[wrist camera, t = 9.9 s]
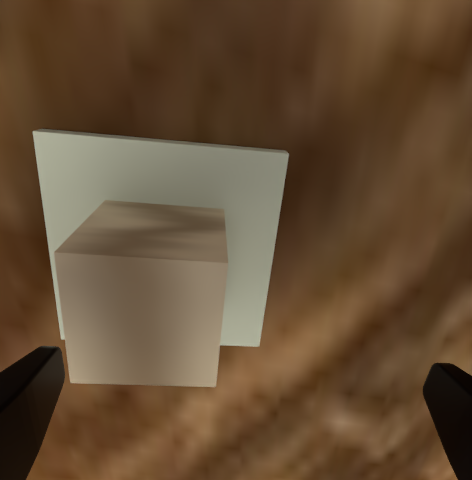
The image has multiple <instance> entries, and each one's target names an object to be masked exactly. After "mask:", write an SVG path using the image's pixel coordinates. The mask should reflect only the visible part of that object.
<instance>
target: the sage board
mask: <svg viewBox="0 0 472 480" xmlns="http://www.w3.org/2000/svg"><path fill="white" fill-rule="evenodd" d="M33 138H34V145H35V152H36V159H37V167H38V174H39V181H40V189H41V196H42V203H43V210H44V218H45V225H46V232H47V240H48V247H49V254H50V262H51V269H52V276H53V283H54V291H55V298H56V305H57V313H58V320H59V327H60V334H61V339H65V337H64V329H63V321H62V313H61V305H60V297H59V290H58V282H57V274H56V266H55V258H54V252H55V251H56V250H57V249H58V248H59V247H60V246H61V245H62V244H63V243H64V241H65V240H66V239H67V238H68V237H69V236H70V235H71V234H72V233H73V232H74V231H75V230H76V229H77V228H78V227H79V226H80V225H81V224H82V223H83V222H84V221H85V220H86V219H87V218H88V217H89V216H90V215H91V214H92V213H93V212H94V211H95V210H96V209H97V208H98V207H99V206H100V205H101V204H102V203H103V202H104V201H105V200H111V201H124V202H137V203H150V204H164V205H177V206H190V207H204V208H217V209H224V214H225V227H226V240H227V254H228V270H227V280H226V290H225V300H224V310H223V320H222V330H221V340H220V345H229V346H256V347H259V345H260V338H261V332H262V325H263V319H264V312H265V306H266V299H267V293H268V286H269V280H270V273H271V267H272V261H273V254H274V248H275V241H276V235H277V228H278V222H279V215H280V209H281V202H282V196H283V190H284V183H285V177H286V170H287V164H288V157H289V153H288V152H286V151H285V150H275V149H264V148H253V147H242V146H230V145H219V144H208V143H197V142H186V141H175V140H163V139H152V138H141V137H130V136H119V135H107V134H96V133H85V132H74V131H63V130H51V129H39V130H35V131H33Z"/></svg>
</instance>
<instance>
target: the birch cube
mask: <svg viewBox="0 0 472 480" xmlns="http://www.w3.org/2000/svg"><path fill="white" fill-rule="evenodd" d="M54 258H55V266H56V274H57V282H58V290H59V297H60V305H61V313H62V321H63V329H64V337H65V344H66V352H67V360H68V368H69V376H70V383H88V384H124V385H160V386H196V387H216V380H217V370H218V360H219V350H220V340H221V330H222V320H223V310H224V300H225V290H226V280H227V270H228V254H227V240H226V227H225V214H224V209H217V208H204V207H190V206H177V205H164V204H150V203H137V202H124V201H111V200H105V201H104V202H103V203H102V204H101V205H100V206H99V207H98V208H97V209H96V210H95V211H94V212H93V213H92V214H91V215H90V216H89V217H88V218H87V219H86V220H85V221H84V222H83V223H82V224H81V225H80V226H79V227H78V228H77V229H76V230H75V231H74V232H73V233H72V234H71V235H70V236H69V237H68V238H67V239H66V240H65V241H64V243H63V244H62V245H61V246H60V247H59V248H58V249H57V250H56V251H55V252H54Z"/></svg>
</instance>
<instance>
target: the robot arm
mask: <svg viewBox="0 0 472 480" xmlns="http://www.w3.org/2000/svg"><path fill="white" fill-rule="evenodd" d="M64 379H65V371H64V364H63V357H62V352H61V349H60V348H59V347H56V346H41V347H38V348H37V349H35V350H34V351H32V352H31V353H29V354H28V355H26V356H24V357H23V358H21V359H20V360H18V361H17V362H15V363H14V364H12V365H11V366H9V367H8V368H6V369H5V370H3V371H2V372H0V480H26V478H27V476H28V474H29V472H30V470H31V468H32V465H33V463H34V461H35V459H36V457H37V454H38V452H39V450H40V447H41V445H42V442H43V439H44V437H45V434H46V431H47V428H48V425H49V423H50V420H51V417H52V414H53V411H54V409H55V406H56V403H57V400H58V398H59V395H60V392H61V389H62V386H63V383H64ZM423 395H424V399H425V401H426V404H427V406H428V409H429V412H430V414H431V417H432V419H433V422H434V424H435V427H436V430H437V432H438V435H439V437H440V440H441V442H442V445H443V448H444V450H445V453H446V455H447V457H448V460H449V462H450V464H451V466H452V468H453V470H454V473H455V475H456V477H457V479H458V480H472V376H471V375H469V374H468V373H466V372H465V371H463V370H461V369H460V368H458V367H457V366H455V365H453V364H450V363H435V364H433V365H432V367H431V369H430V371H429V374H428V376H427V378H426V381H425V383H424V386H423Z"/></svg>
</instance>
